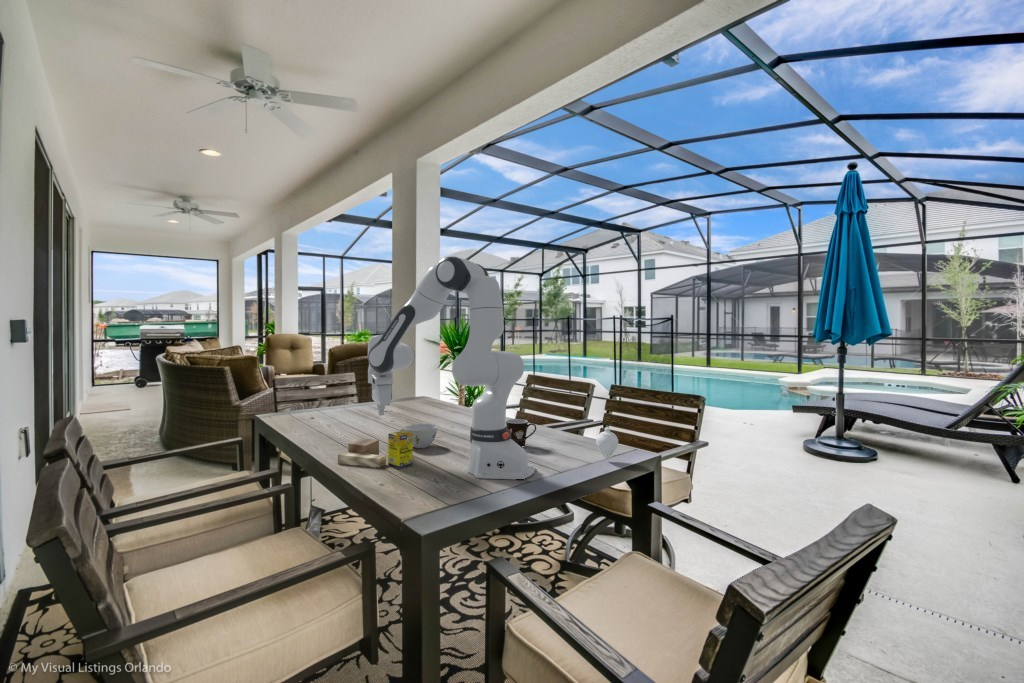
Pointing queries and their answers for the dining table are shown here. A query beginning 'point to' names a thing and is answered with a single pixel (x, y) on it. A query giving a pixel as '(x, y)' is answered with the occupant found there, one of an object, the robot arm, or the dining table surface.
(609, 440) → the spinning top
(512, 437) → the coffee mug
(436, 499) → the dining table surface
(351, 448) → the block
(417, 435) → the teacup
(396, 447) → the supplement box
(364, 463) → the beige long bar
